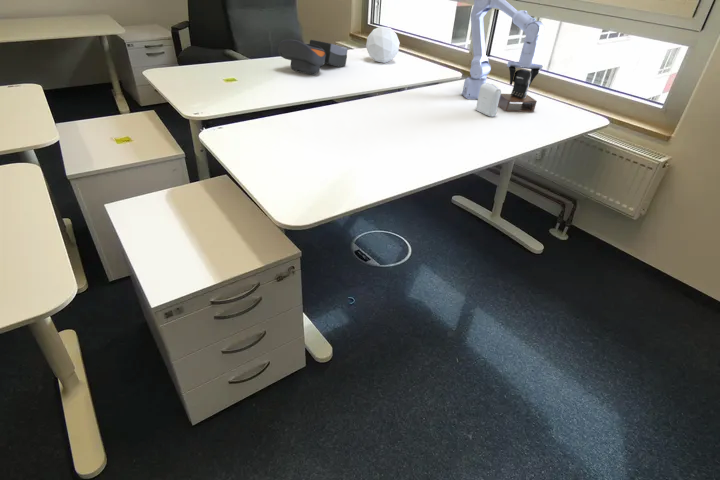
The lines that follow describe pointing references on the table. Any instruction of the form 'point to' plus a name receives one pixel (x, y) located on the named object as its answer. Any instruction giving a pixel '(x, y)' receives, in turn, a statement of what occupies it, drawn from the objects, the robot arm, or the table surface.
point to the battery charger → (521, 83)
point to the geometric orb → (382, 44)
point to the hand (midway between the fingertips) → (519, 85)
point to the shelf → (526, 106)
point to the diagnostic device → (312, 55)
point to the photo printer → (488, 99)
